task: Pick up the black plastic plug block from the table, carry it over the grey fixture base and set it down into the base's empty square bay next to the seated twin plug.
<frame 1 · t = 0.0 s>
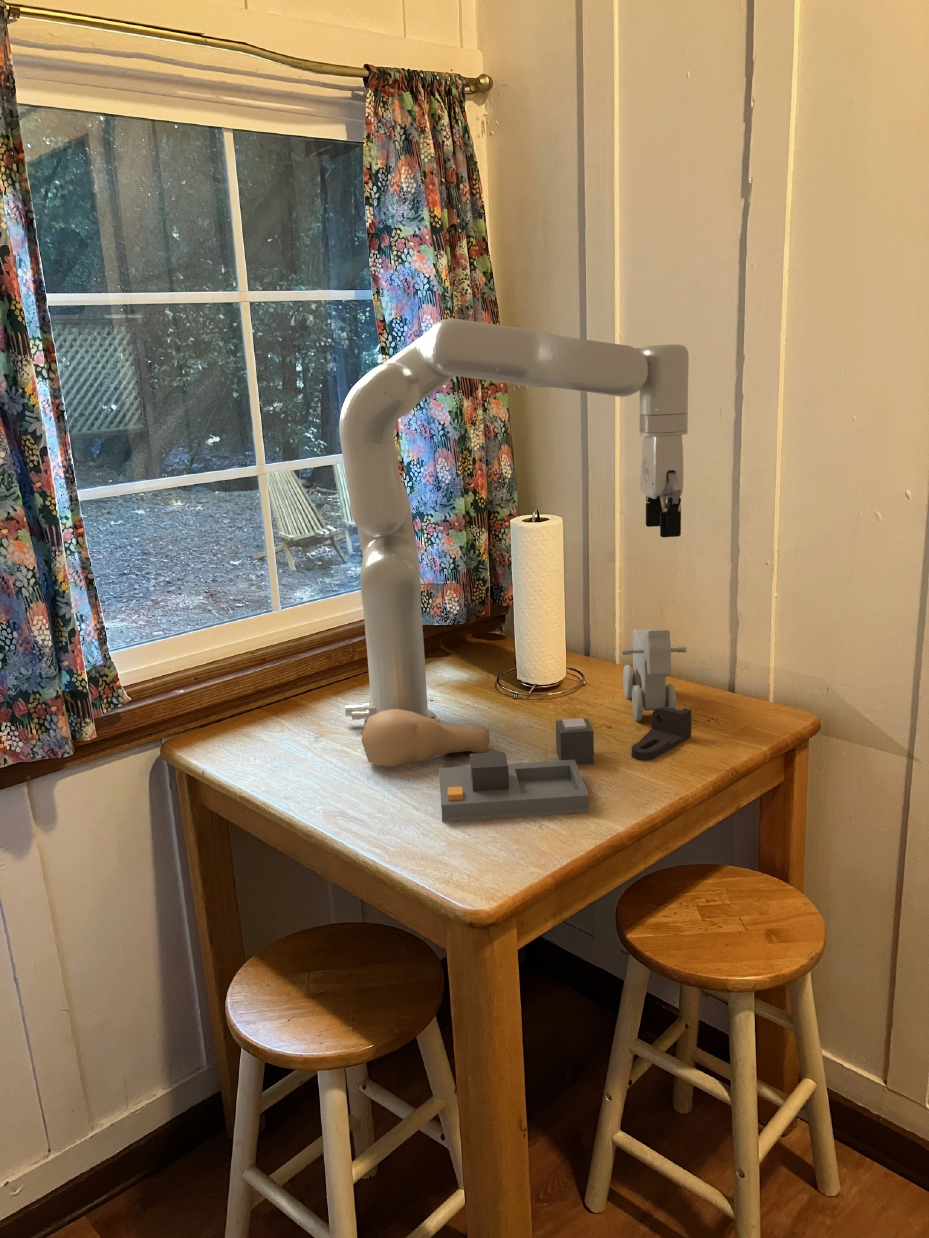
hand: (662, 531, 158), 31 cm above the table, tool pointing down, fingers open, 9 cm apart
bracket: (653, 748, 152), on the table
squash: (426, 759, 151), on the table
pony: (649, 711, 166), on the table
plug: (574, 758, 148), on the table
grey fixture base: (511, 797, 136), on the table
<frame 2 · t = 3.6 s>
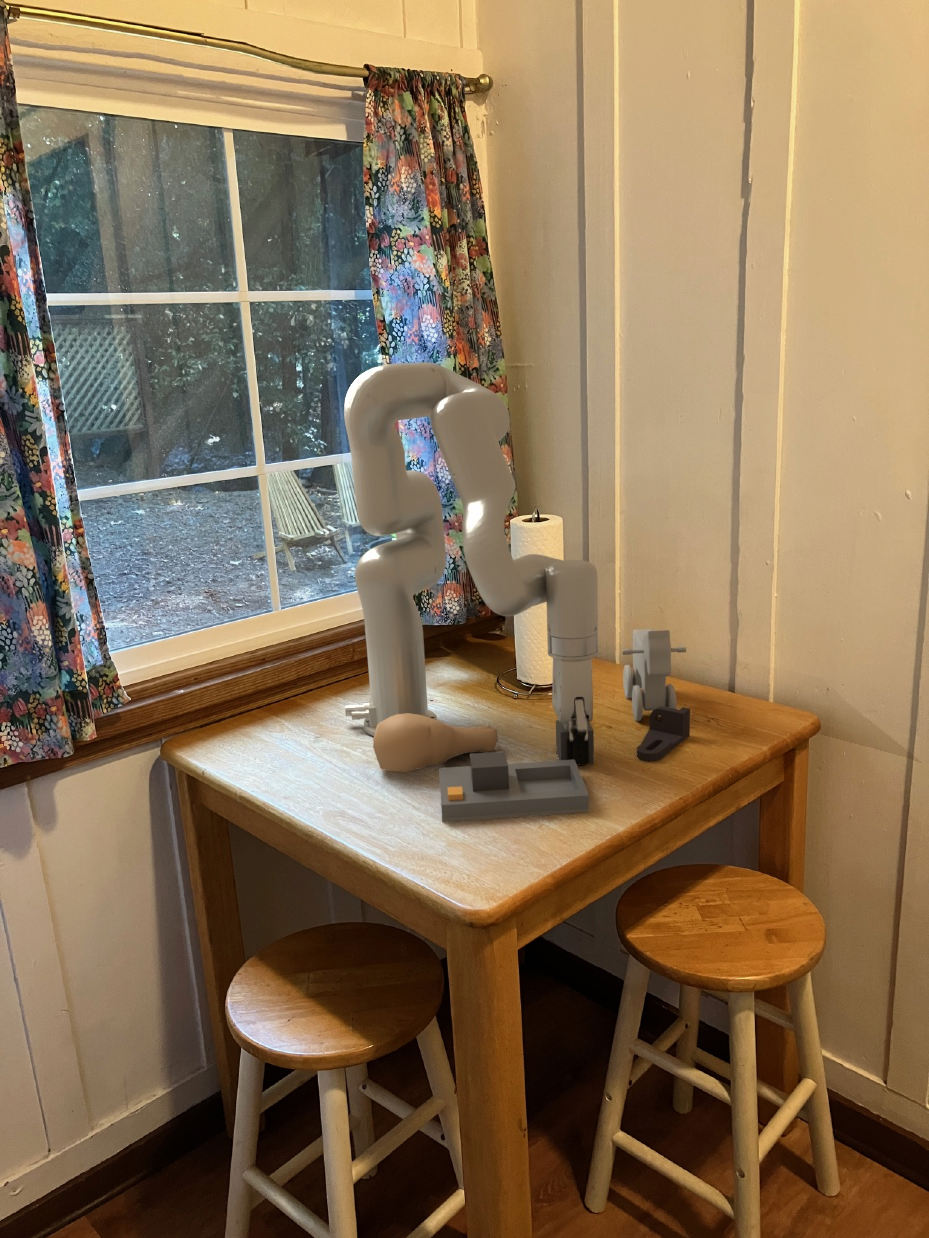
hand: (574, 755, 148), 0 cm above the table, tool pointing down, fingers closed on plug, 5 cm apart
squash: (435, 762, 150), on the table
plug: (574, 758, 148), on the table, touching gripper
everything else where it was.
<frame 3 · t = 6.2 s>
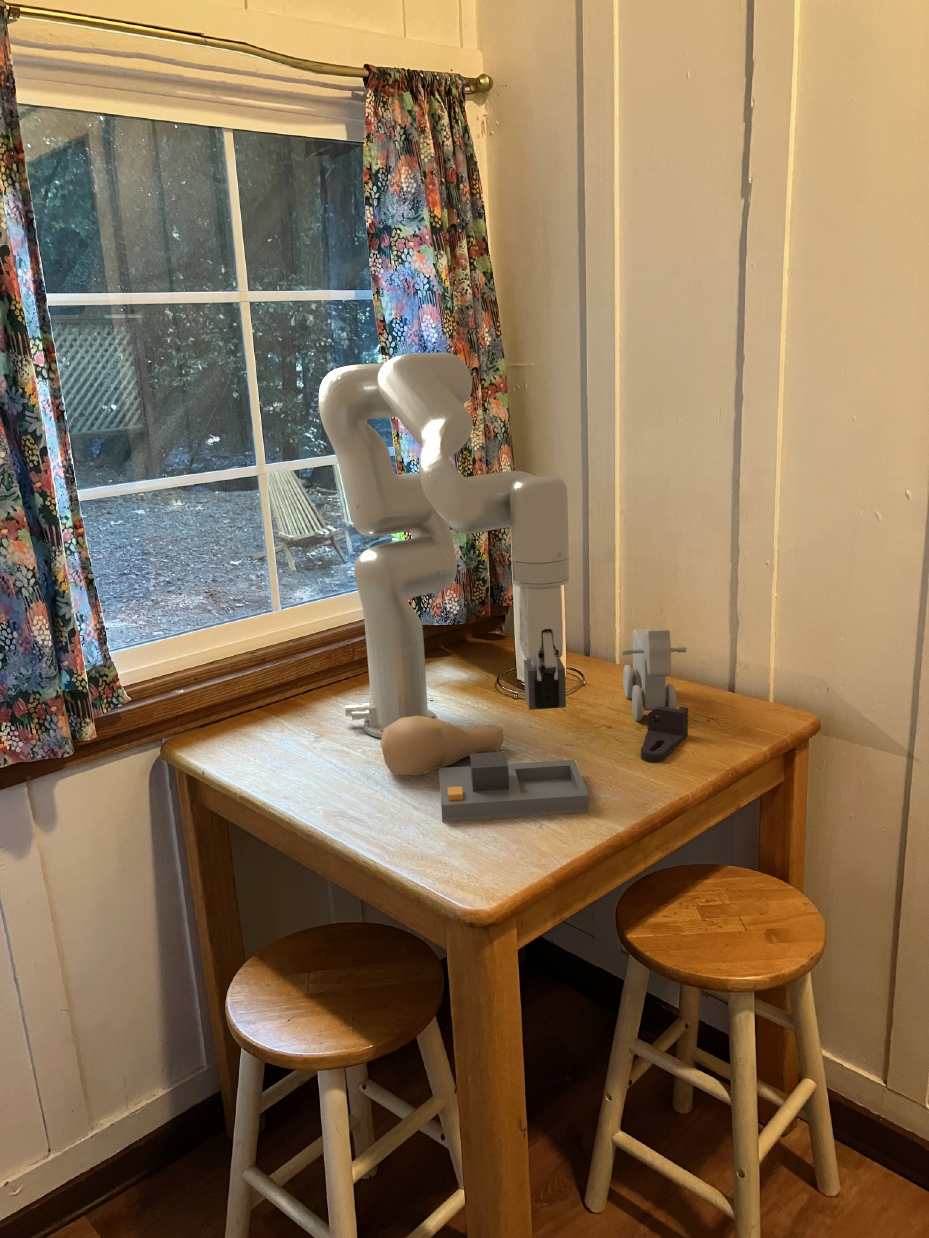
hand: (544, 698, 133), 15 cm above the table, tool pointing down, fingers closed on plug, 5 cm apart
squash: (442, 764, 149), on the table
plug: (545, 702, 133), point 14 cm above the table, touching gripper
everything else where it was.
when the fingers open (3 cm above the table, at t = 9.0 s): plug drops 2 cm, resting on grey fixture base.
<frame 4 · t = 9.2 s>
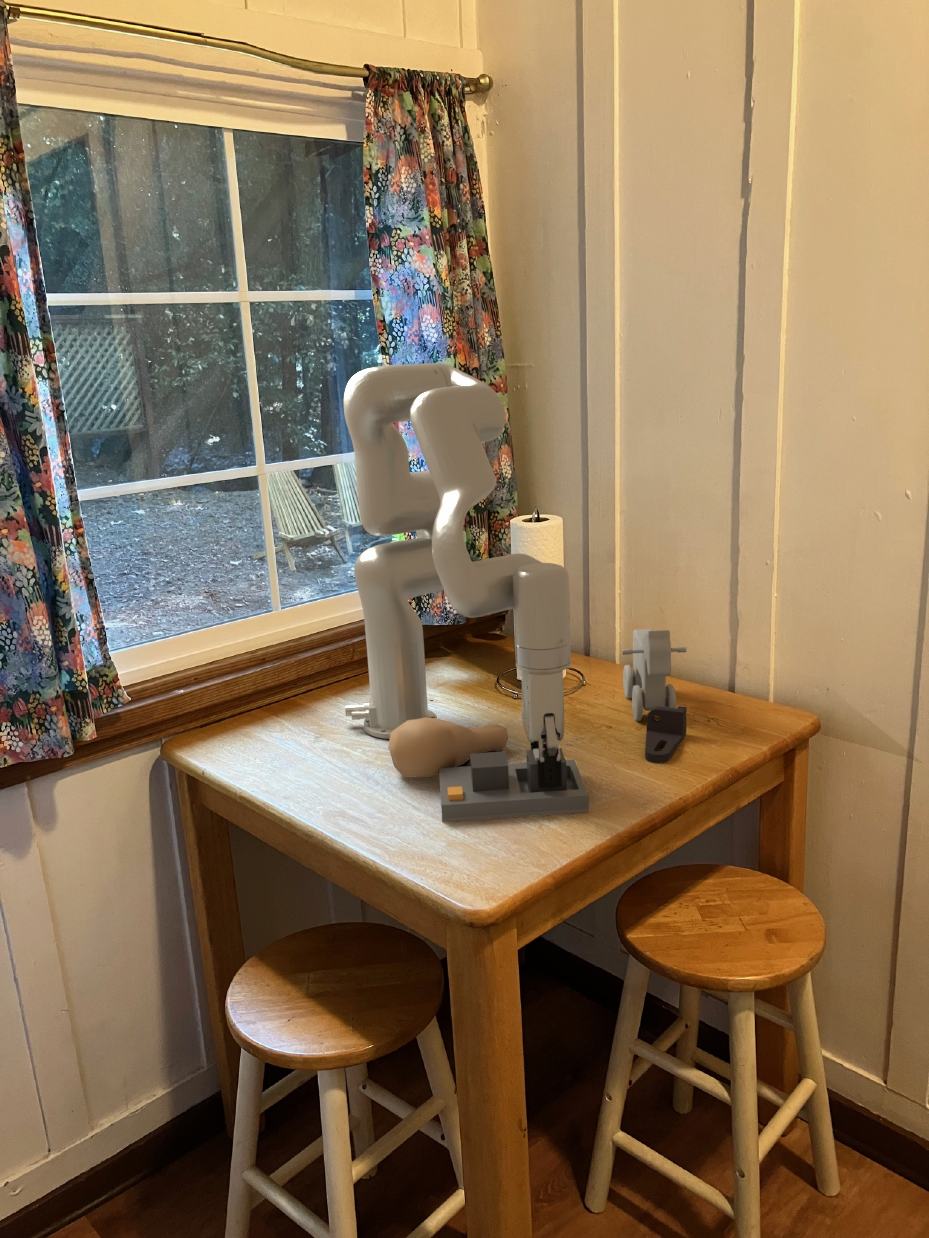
hand: (546, 773, 136), 3 cm above the table, tool pointing down, fingers open, 7 cm apart
squash: (449, 765, 149), on the table
plug: (546, 791, 136), resting on grey fixture base
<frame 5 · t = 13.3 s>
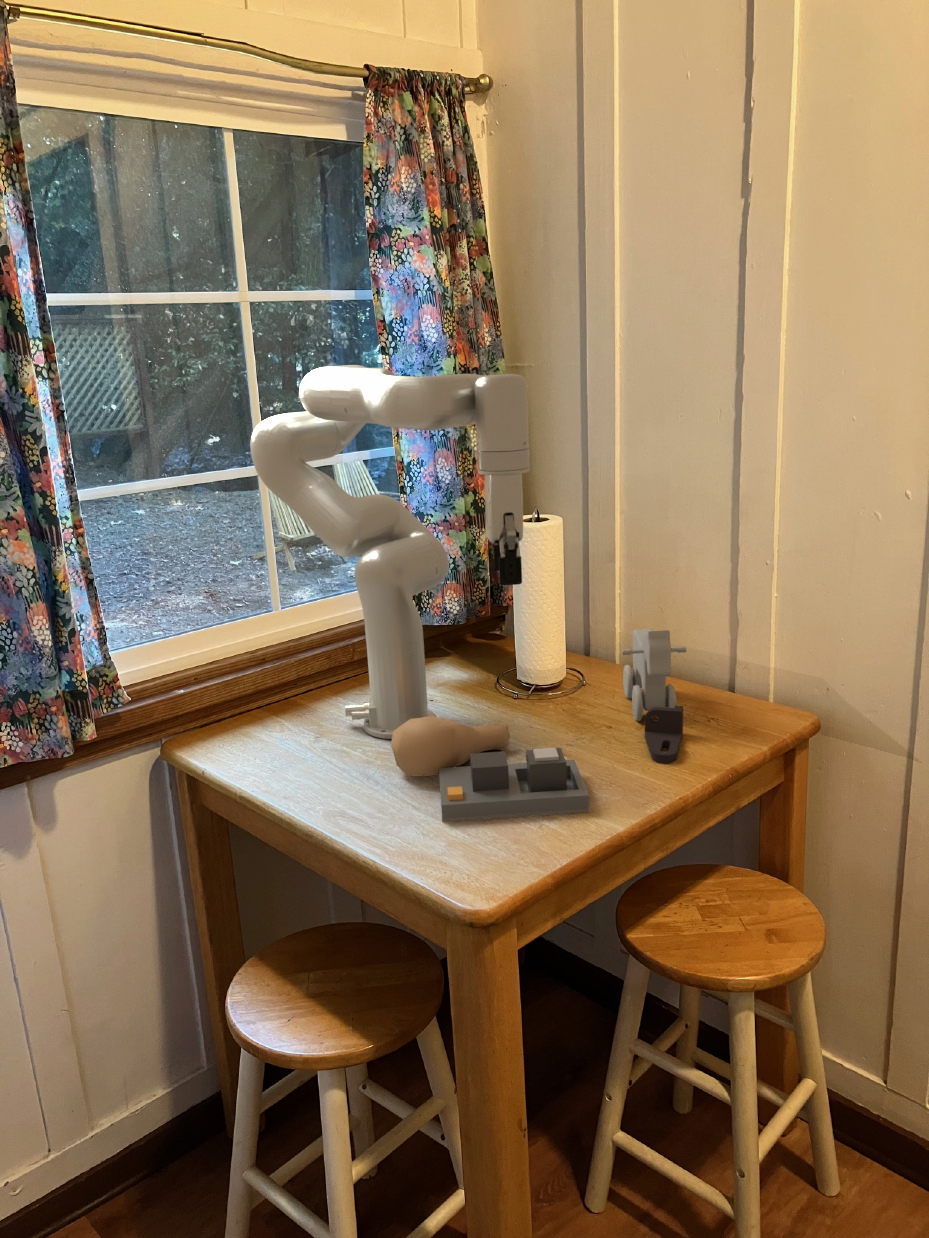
hand: (507, 576, 144), 28 cm above the table, tool pointing down, fingers open, 9 cm apart
at the end: plug 0.0 cm from the target spot on the grey fixture base, point 0.5 cm above the grey fixture base's base; the gripper is holding nothing; plug tilted 0° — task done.
